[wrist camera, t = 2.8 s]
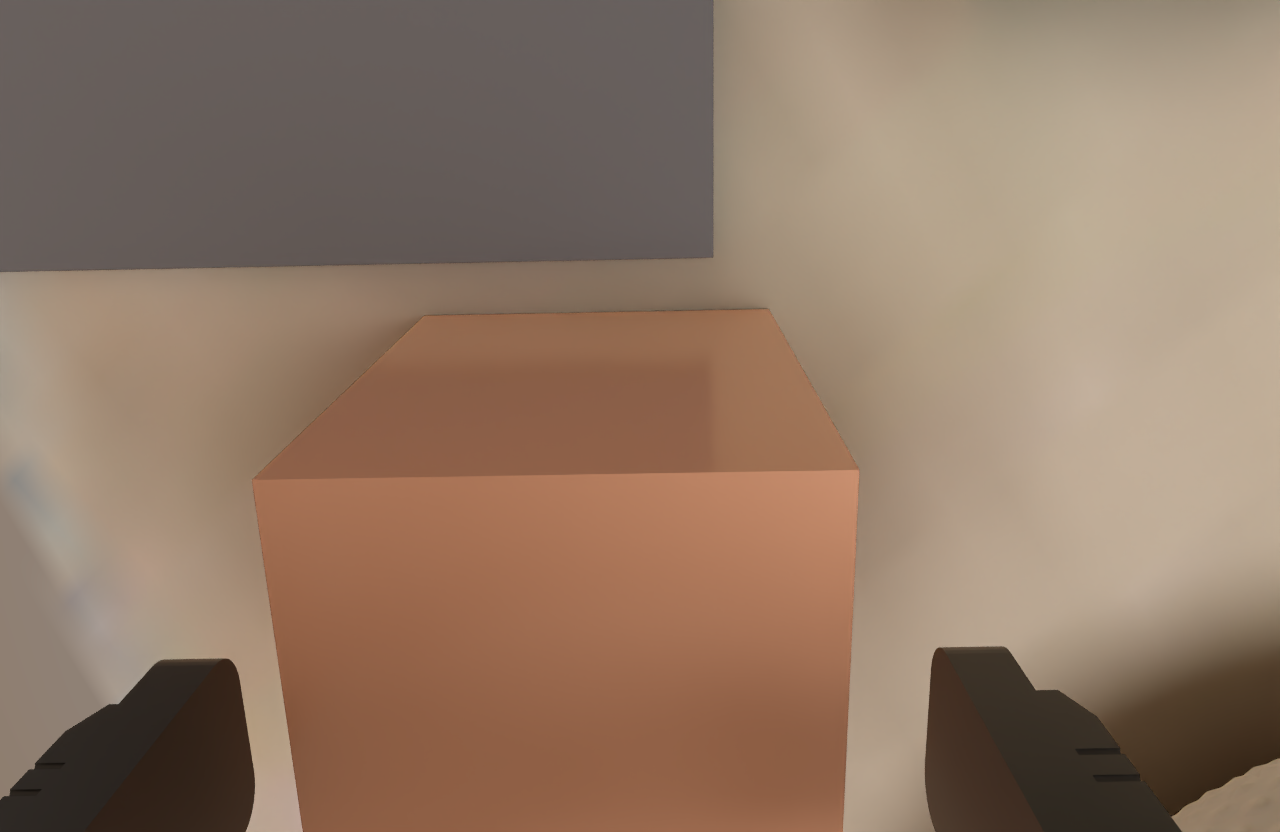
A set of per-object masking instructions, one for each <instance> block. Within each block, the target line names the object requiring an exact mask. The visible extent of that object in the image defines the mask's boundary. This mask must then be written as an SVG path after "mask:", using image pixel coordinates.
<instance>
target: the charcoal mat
mask: <svg viewBox="0 0 1280 832" xmlns="http://www.w3.org/2000/svg"><path fill="white" fill-rule="evenodd" d="M672 258H713V0H0V272H20V271H70V270H120V269H170V268H220V267H271V266H321V265H371V264H421V263H471V262H522V261H572V260H622V259H672Z"/></svg>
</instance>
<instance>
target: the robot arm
mask: <svg viewBox="0 0 1280 832" xmlns="http://www.w3.org/2000/svg"><path fill="white" fill-rule="evenodd" d="M925 785H926V794H927V801H928V807H929V812H930V816H931V819H932V823H933V826H934V828H935V831H936V832H1182V831H1181V829H1180V828H1179V827H1178V825H1177V824H1176V823H1175V821H1174V820H1173V819H1172V817H1171V816H1170V815H1169V813H1168V812H1167V811H1166V809H1165V808H1164V807H1163V805H1162V804H1161V803H1160V801H1159V800H1158V798H1157V797H1156V796H1155V794H1154V793H1153V792H1152V790H1151V789H1150V788H1149V786H1148V785H1147V784H1146V782H1145V781H1140V774H1139V773H1138V772H1137V770H1136V769H1135V767H1134V766H1133V765H1132V763H1131V762H1130V761H1129V759H1128V758H1127V757H1126V755H1125V754H1121V753H1120V747H1119V746H1118V745H1117V743H1116V742H1115V741H1114V739H1113V738H1112V736H1111V735H1110V734H1109V732H1108V731H1107V730H1106V728H1105V727H1104V726H1103V724H1102V723H1101V722H1100V720H1099V719H1098V718H1097V716H1095V715H1094V714H1092V713H1091V712H1089V711H1088V710H1086V709H1085V708H1083V707H1082V706H1080V705H1079V704H1078V703H1076V702H1075V701H1073V700H1072V699H1070V698H1069V697H1067V696H1066V695H1064V694H1063V693H1061V692H1060V691H1058V690H1037V691H1036V690H1035V689H1034V687H1033V686H1032V684H1031V683H1030V681H1029V680H1028V678H1027V677H1026V675H1025V674H1024V672H1023V671H1022V669H1021V668H1020V666H1019V665H1018V663H1017V662H1016V660H1015V659H1014V657H1013V656H1012V654H1011V653H1010V651H1009V650H1008V649H1007V648H1005V647H1002V646H1000V647H944V648H937V649H936V651H935V653H934V655H933V659H932V666H931V679H930V695H929V710H928V726H927V742H926V757H925ZM254 794H255V777H254V769H253V763H252V756H251V750H250V743H249V737H248V731H247V724H246V718H245V711H244V705H243V699H242V692H241V686H240V680H239V675H238V672H237V669H236V667H235V665H234V664H233V662H232V661H231V660H229V659H173V660H161V661H159V662H157V663H156V664H155V665H154V666H153V667H152V668H151V669H150V670H149V671H148V672H147V673H146V674H145V675H144V677H143V678H142V679H141V680H140V681H139V682H138V683H137V684H136V685H135V687H134V688H133V689H132V690H131V691H130V692H129V693H128V694H127V695H126V697H125V698H124V699H123V700H122V701H121V702H120V703H119V704H109V705H107V706H106V707H104V708H102V709H101V710H99V711H98V712H96V713H94V714H93V715H91V716H90V717H88V718H86V719H85V720H83V721H82V722H80V723H78V724H77V725H75V726H73V727H72V728H70V729H69V730H67V731H65V733H64V734H63V735H62V736H61V737H60V738H59V739H58V740H57V741H56V742H55V743H54V744H53V745H52V746H51V747H50V748H49V749H48V750H47V751H46V752H45V754H43V755H42V757H41V758H40V759H39V760H38V761H37V762H36V763H35V769H34V770H28V771H27V773H25V775H24V776H23V777H22V778H21V779H20V780H19V781H18V782H17V783H16V784H15V785H14V786H13V787H12V788H11V789H10V796H4V797H3V798H2V799H1V800H0V832H246V829H247V827H248V824H249V821H250V817H251V813H252V809H253V803H254Z"/></svg>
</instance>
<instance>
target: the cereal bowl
mask: <svg viewBox="0 0 1280 832" xmlns="http://www.w3.org/2000/svg"><path fill="white" fill-rule="evenodd" d="M1171 817H1172V819H1173V820H1174V821H1175V823H1176V824H1177V825H1178V827H1179V828H1180V829H1181V831H1182V832H1280V758H1279V759H1275V760H1273V761H1271V762H1269V763H1268V764H1264V765H1260V766H1255V767H1253V768H1251V769H1250V770H1249V771H1248V772H1247V773H1245V774H1244V775H1243V776H1239V777H1235V778H1233V779H1232V780H1230V781H1229V782H1228V783H1226V784H1225V785H1224V786H1222V787H1220V788H1217V789H1213V790H1210V791H1207V792H1206V793H1205V794H1204V795H1203V796H1202V797H1201V798H1200V799H1199V800H1197V801H1195V802H1193V803H1190V804H1188V805H1187V806H1185V807H1183V808H1182V809H1181V810H1180V811H1179V813H1177V814H1176V815H1174V816H1171Z"/></svg>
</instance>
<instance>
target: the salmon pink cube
mask: <svg viewBox="0 0 1280 832" xmlns="http://www.w3.org/2000/svg"><path fill="white" fill-rule="evenodd" d="M252 484H253V491H254V498H255V505H256V512H257V518H258V525H259V532H260V539H261V546H262V553H263V560H264V567H265V574H266V581H267V587H268V594H269V601H270V608H271V615H272V622H273V629H274V636H275V643H276V649H277V656H278V663H279V670H280V677H281V684H282V691H283V698H284V705H285V711H286V718H287V725H288V732H289V739H290V746H291V753H292V760H293V767H294V773H295V780H296V787H297V794H298V801H299V808H300V815H301V822H302V829H303V832H843V814H844V792H845V771H846V749H847V727H848V705H849V683H850V662H851V640H852V618H853V596H854V575H855V553H856V531H857V509H858V487H859V469H858V467H857V465H856V463H855V461H854V460H853V458H852V456H851V454H850V452H849V451H848V449H847V447H846V445H845V444H844V442H843V440H842V438H841V436H840V435H839V433H838V431H837V429H836V428H835V426H834V424H833V422H832V420H831V419H830V417H829V415H828V413H827V412H826V410H825V408H824V406H823V404H822V403H821V401H820V399H819V397H818V396H817V394H816V392H815V390H814V388H813V387H812V385H811V383H810V381H809V380H808V378H807V376H806V374H805V372H804V371H803V369H802V367H801V365H800V364H799V362H798V360H797V358H796V356H795V355H794V353H793V351H792V349H791V347H790V346H789V344H788V342H787V340H786V339H785V337H784V335H783V333H782V331H781V330H780V328H779V326H778V324H777V323H776V321H775V319H774V317H773V315H772V314H771V312H770V310H769V309H743V310H690V311H638V312H586V313H533V314H481V315H428V316H424V317H422V318H421V319H420V320H419V321H418V322H417V323H416V324H415V325H414V326H413V327H412V328H411V329H410V330H409V331H408V332H407V333H406V334H405V335H404V336H403V337H401V338H400V339H399V340H398V341H397V342H396V343H395V344H394V345H393V346H392V347H391V348H390V349H389V350H388V351H387V352H386V353H385V354H384V355H383V356H382V357H380V358H379V359H378V360H377V361H376V362H375V363H374V364H373V365H372V366H371V367H370V368H369V369H368V370H367V371H366V372H365V373H364V374H363V375H362V376H361V377H359V378H358V379H357V380H356V381H355V382H354V383H353V384H352V385H351V386H350V387H349V388H348V389H347V390H346V391H345V392H344V393H343V394H342V395H341V396H339V397H338V398H337V399H336V400H335V401H334V402H333V403H332V404H331V405H330V406H329V407H328V408H327V409H326V410H325V411H324V412H323V413H322V414H321V415H320V416H318V417H317V418H316V419H315V420H314V421H313V422H312V423H311V424H310V425H309V426H308V427H307V428H306V429H305V430H304V431H303V432H302V433H301V434H300V435H299V436H297V437H296V438H295V439H294V440H293V441H292V442H291V443H290V444H289V445H288V446H287V447H286V448H285V449H284V450H283V451H282V452H281V453H280V454H279V455H278V456H276V457H275V458H274V459H273V460H272V461H271V462H270V463H269V464H268V465H267V466H266V467H265V468H264V469H263V470H262V471H261V472H260V473H259V474H258V475H257V476H255V477H254V478H253V479H252Z"/></svg>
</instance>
